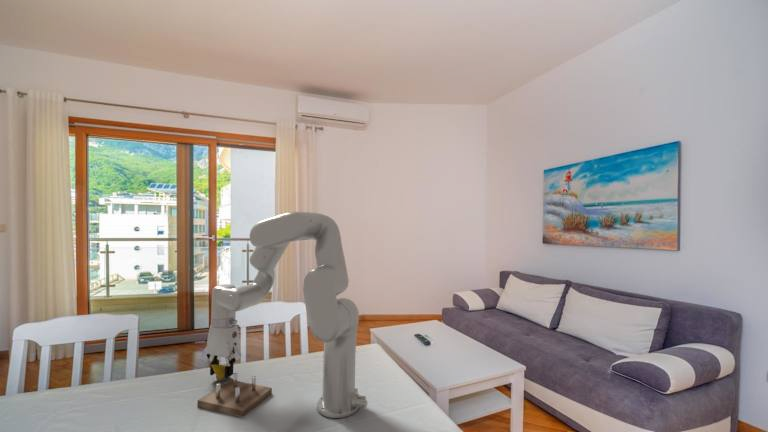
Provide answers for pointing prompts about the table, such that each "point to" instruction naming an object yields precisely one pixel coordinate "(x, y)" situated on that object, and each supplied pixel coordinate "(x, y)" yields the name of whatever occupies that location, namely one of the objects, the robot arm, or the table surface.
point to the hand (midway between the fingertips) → (221, 374)
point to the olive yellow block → (219, 371)
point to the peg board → (235, 397)
